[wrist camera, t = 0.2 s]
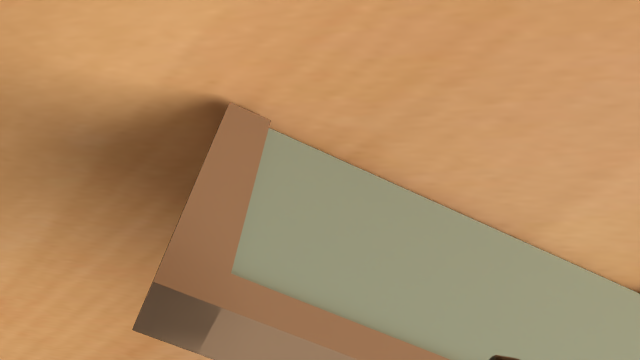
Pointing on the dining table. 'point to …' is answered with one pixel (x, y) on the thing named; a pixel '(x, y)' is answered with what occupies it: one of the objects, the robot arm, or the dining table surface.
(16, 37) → the dining table surface
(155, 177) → the dining table surface
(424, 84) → the dining table surface
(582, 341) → the gate
